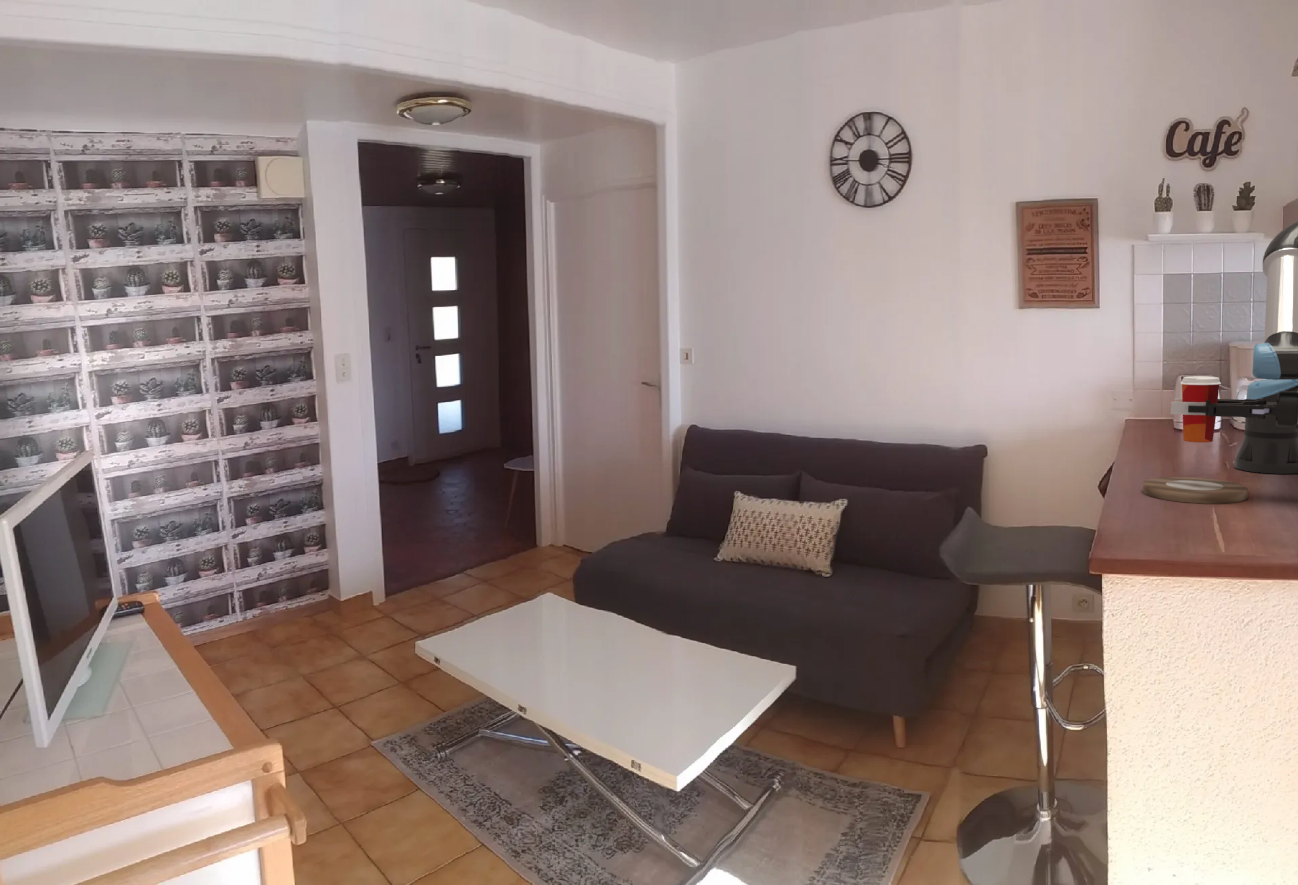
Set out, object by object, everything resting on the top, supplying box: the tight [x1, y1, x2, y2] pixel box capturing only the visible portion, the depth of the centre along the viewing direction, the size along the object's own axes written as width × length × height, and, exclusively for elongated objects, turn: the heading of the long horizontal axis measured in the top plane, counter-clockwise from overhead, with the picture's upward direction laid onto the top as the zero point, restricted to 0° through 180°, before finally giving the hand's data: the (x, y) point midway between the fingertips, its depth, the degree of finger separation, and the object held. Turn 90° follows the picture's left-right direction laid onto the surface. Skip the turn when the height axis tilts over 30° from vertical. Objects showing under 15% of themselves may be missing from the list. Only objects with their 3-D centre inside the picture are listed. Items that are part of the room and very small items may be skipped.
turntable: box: [1142, 476, 1249, 505], centre depth 203 cm, size 20×20×2 cm
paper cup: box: [1180, 375, 1222, 444], centre depth 201 cm, size 8×8×14 cm
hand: (1173, 406), depth 204 cm, fingers closed on paper cup, 6 cm apart
